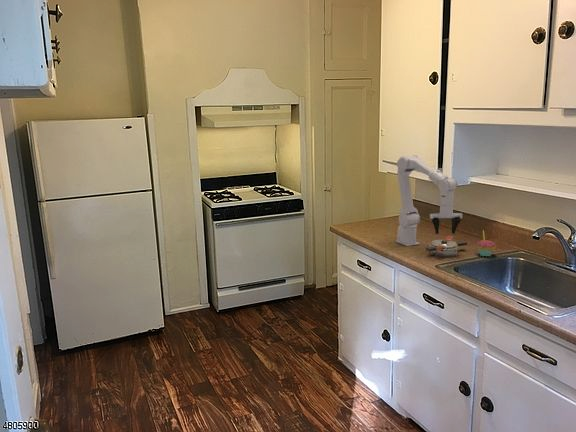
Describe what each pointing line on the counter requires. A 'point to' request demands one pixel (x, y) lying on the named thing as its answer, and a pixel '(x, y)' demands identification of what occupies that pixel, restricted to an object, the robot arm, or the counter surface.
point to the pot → (445, 250)
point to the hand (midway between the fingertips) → (444, 233)
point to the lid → (444, 243)
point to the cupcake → (485, 247)
